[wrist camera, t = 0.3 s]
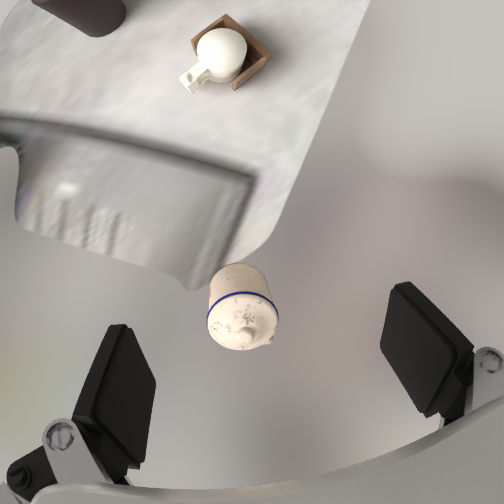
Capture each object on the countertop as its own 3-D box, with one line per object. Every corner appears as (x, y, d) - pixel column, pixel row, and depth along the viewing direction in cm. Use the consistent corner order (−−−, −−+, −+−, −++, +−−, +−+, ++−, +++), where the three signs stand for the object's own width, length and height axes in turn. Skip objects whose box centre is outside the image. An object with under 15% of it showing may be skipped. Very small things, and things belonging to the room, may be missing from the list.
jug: (223, 42, 28) (223, 20, 21) (249, 66, 30) (257, 49, 23) (177, 80, 30) (166, 66, 22) (203, 105, 32) (198, 97, 24)
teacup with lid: (196, 283, 41) (189, 333, 31) (245, 249, 40) (254, 292, 29) (243, 331, 46) (250, 384, 35) (289, 303, 45) (307, 353, 34)
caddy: (225, 30, 27) (226, 13, 22) (264, 66, 30) (272, 54, 25) (195, 54, 28) (190, 40, 23) (234, 90, 31) (236, 82, 26)
